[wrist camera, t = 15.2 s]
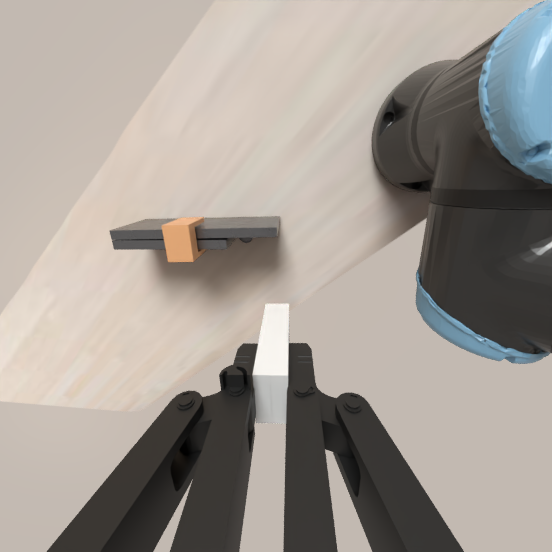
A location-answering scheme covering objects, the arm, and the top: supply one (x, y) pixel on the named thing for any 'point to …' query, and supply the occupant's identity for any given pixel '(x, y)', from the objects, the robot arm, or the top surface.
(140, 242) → the tongs hinged arm
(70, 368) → the top surface
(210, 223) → the arm
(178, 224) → the orange slotted clip
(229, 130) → the top surface
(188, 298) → the top surface
